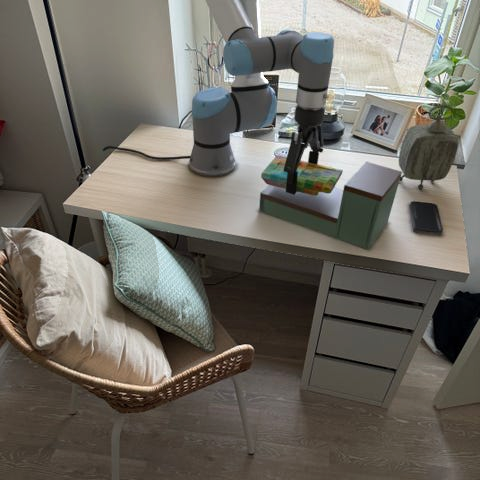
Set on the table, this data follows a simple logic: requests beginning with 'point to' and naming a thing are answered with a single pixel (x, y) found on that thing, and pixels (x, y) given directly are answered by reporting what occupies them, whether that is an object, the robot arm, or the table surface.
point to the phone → (425, 218)
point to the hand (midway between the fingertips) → (301, 183)
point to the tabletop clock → (428, 150)
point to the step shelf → (340, 206)
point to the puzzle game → (302, 176)
